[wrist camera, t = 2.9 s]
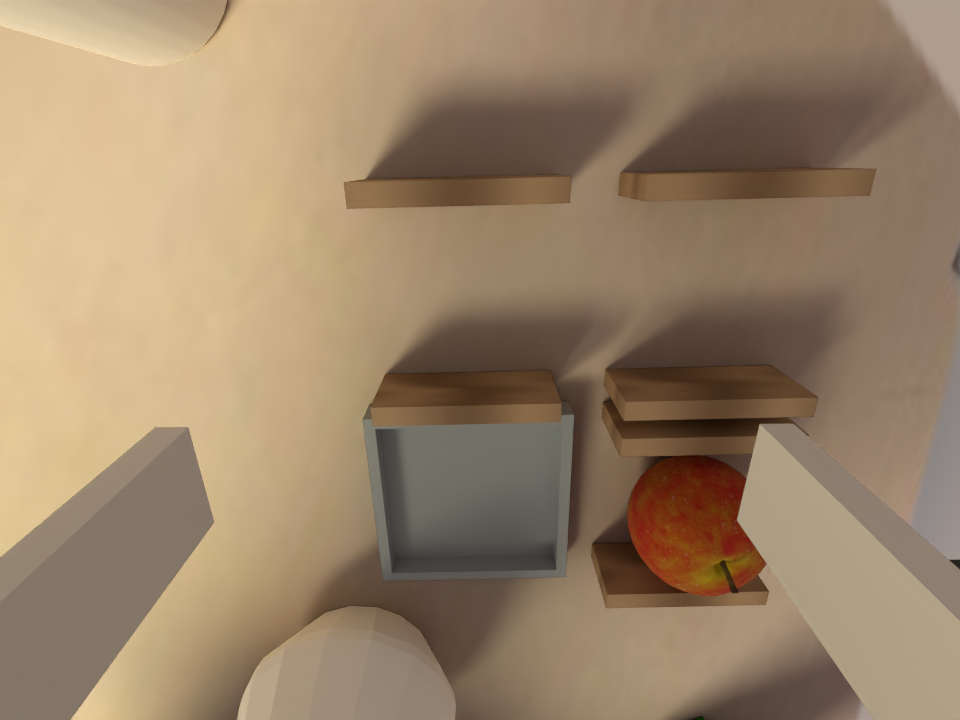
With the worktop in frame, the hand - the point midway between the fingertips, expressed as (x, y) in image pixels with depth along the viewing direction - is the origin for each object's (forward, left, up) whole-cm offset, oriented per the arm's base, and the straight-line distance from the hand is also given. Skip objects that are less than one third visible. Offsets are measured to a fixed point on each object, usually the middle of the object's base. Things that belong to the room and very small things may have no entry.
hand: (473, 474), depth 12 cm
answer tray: (-1, -11, -15) cm, 19 cm away
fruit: (+11, -11, -15) cm, 22 cm away
